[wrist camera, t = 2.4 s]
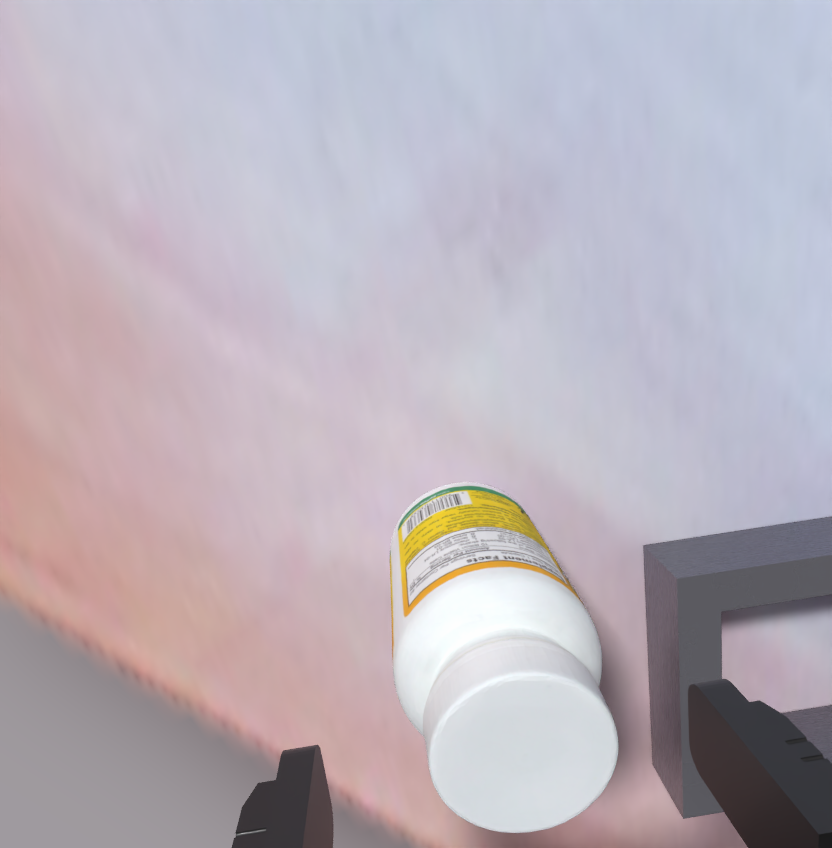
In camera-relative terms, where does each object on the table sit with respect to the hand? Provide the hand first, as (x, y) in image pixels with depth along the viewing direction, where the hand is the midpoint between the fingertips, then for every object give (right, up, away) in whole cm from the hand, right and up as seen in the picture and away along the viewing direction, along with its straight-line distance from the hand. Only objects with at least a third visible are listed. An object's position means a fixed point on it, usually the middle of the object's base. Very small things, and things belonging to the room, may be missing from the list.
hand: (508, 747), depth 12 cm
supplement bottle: (0, +2, +9) cm, 9 cm away
